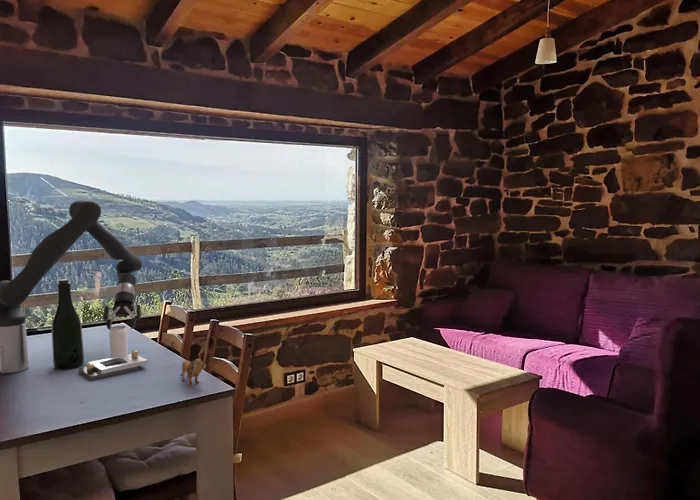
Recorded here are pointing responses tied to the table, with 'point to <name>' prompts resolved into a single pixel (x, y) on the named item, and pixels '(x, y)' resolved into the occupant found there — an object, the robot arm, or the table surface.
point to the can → (118, 341)
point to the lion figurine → (192, 370)
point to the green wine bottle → (66, 331)
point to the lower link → (94, 375)
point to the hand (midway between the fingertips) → (120, 328)
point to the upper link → (126, 360)
